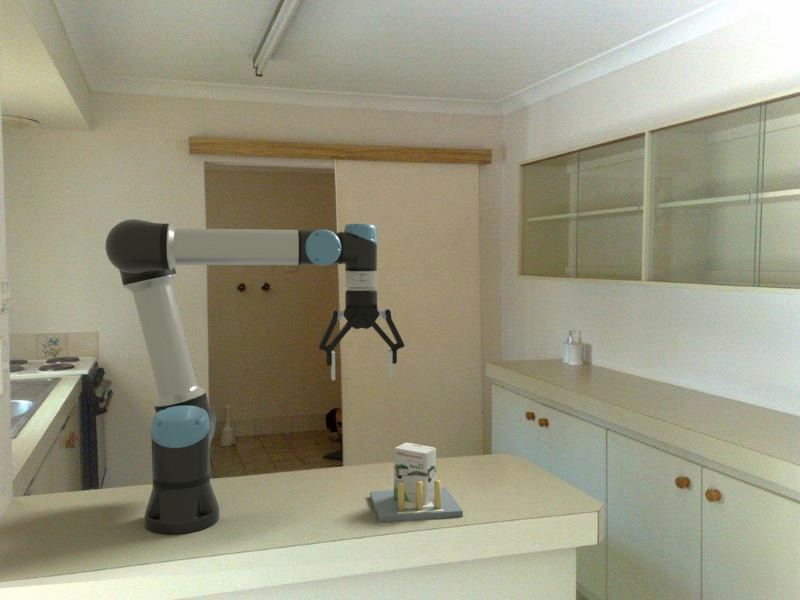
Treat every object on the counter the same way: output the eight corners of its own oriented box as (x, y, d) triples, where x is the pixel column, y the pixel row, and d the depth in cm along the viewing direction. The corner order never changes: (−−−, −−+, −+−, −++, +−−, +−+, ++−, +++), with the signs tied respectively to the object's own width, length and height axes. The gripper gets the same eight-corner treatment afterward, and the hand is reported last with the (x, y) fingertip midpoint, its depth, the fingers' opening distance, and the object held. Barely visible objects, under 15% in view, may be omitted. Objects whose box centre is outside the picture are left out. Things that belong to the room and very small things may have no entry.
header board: (379, 521, 151) (379, 488, 150) (370, 496, 167) (369, 466, 166) (462, 516, 154) (462, 483, 153) (445, 492, 170) (445, 462, 169)
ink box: (392, 498, 161) (392, 446, 161) (404, 492, 166) (403, 441, 165) (426, 505, 157) (426, 452, 156) (437, 498, 161) (436, 446, 160)
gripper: (308, 290, 163) (309, 382, 165) (416, 289, 168) (416, 379, 169) (307, 289, 171) (308, 377, 172) (410, 287, 175) (410, 374, 176)
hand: (361, 378), depth 171 cm, fingers open, 13 cm apart
